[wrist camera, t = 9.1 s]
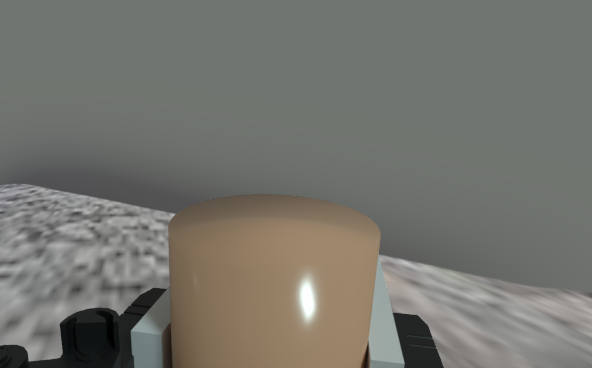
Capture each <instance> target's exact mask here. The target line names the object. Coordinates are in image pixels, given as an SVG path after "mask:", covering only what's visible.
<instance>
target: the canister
mask: <svg viewBox="0 0 592 368" xmlns="http://www.w3.org/2000/svg"><path fill="white" fill-rule="evenodd" d="M168 231H169V272H170V312H171V353H172V368H365V364H366V355H367V347H368V339H369V331H370V323H371V314H372V305H373V296H374V288H375V279H376V270H377V262H378V253H379V244H380V230H379V228H378V226H377V225H376V224H375V223H374V222H373V221H372V220H371V219H369V218H368V217H367V216H365V215H363V214H362V213H360V212H358V211H355V210H353V209H351V208H348V207H345V206H342V205H339V204H336V203H332V202H328V201H324V200H319V199H313V198H307V197H300V196H290V195H272V194H255V195H240V196H230V197H223V198H217V199H212V200H208V201H204V202H200V203H197V204H195V205H192V206H189V207H187V208H185V209H183V210H182V211H180V212H179V213H177V214H176V215H175V216H174V217H173V218H172V219H171V221H170V223H169V227H168Z"/></svg>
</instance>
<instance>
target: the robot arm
mask: <svg viewBox="0 0 592 368" xmlns="http://www.w3.org/2000/svg"><path fill="white" fill-rule="evenodd" d="M60 330H61V340H62V349H63V354H62V356H61V357H60V358H58V359H50V360H40V361H31V362H29V361H28V353H27V351H26V349H25V348H24V347H21V346H18V345H2V346H0V368H172V353H171V312H170V286H169V288H168V289H160V288H153V289H151V290H149V291H147V292H145V293H143V294H141V295H140V296H139V297H138V298H137V299H136V300H135V301H134V302H133V303H132V304H131V306H129V307H128V308H127V309H126V310H125V311H124V314H121V315H120V316H119V315H118V314H117V312H116V311H114V310H111V309H109V308H92V309H86V310H83V311H79V312H76V313H74V314H72V315H70V316H69V317H67V318H66V319H64V320H63V321H62V322H61V323H60ZM365 368H444V367H443V365H442V362H441V359H440V357H439V354H438V351H437V349H436V346H435V343H434V341H433V339H432V335H431V333H430V330H429V327H428V325H427V324H426V323H425V322H424V321H423V320H422V319H421V318H420V317H419V316H418V315H410V314H401V313H392V309H391V304H390V300H389V296H388V292H387V288H386V283H385V279H384V275H383V271H382V267H381V262H380V258H379V254H378V262H377V270H376V279H375V288H374V296H373V305H372V314H371V323H370V331H369V339H368V347H367V355H366V364H365Z"/></svg>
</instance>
